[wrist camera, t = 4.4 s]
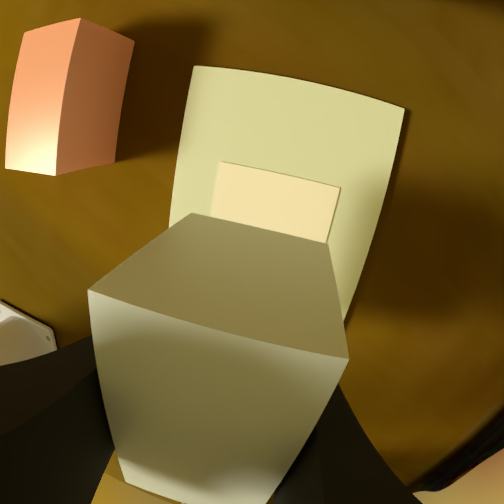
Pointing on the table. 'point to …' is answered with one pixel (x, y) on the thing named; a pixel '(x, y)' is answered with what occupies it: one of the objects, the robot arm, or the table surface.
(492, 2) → the table surface
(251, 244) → the beige brick
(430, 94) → the table surface
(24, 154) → the coral brick
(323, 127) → the baseplate
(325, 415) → the robot arm
